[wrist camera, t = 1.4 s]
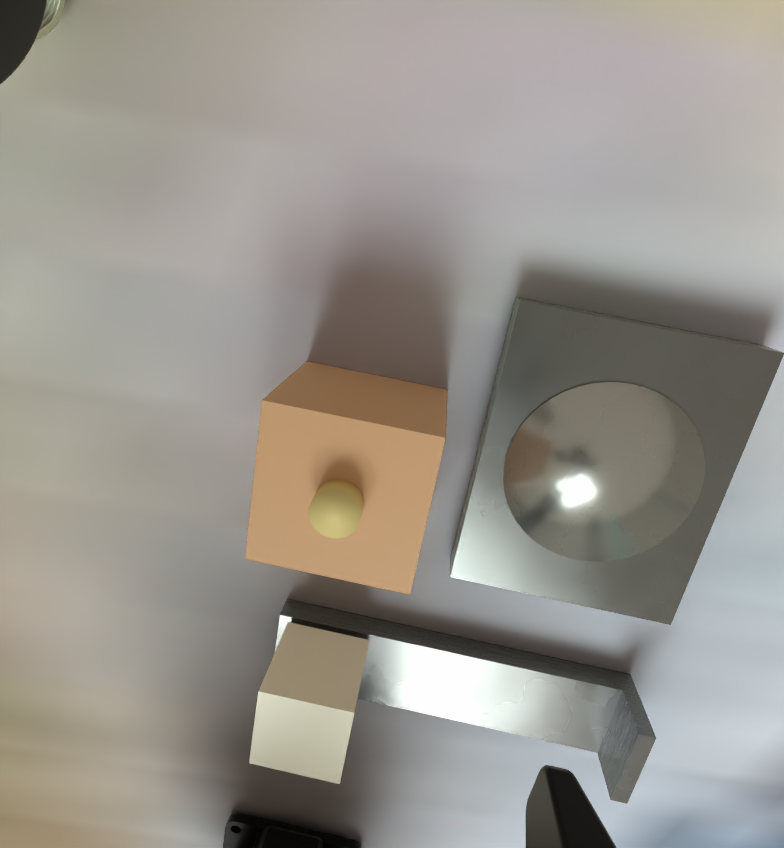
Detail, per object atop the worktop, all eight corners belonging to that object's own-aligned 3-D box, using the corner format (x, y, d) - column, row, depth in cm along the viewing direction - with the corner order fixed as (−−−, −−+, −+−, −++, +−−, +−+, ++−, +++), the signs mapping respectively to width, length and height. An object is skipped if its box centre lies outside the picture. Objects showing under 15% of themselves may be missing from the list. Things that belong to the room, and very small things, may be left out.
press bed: (658, 604, 21) (671, 626, 20) (450, 559, 22) (450, 578, 20) (763, 345, 18) (785, 353, 17) (516, 297, 18) (520, 301, 17)
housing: (419, 515, 21) (408, 611, 16) (290, 487, 22) (235, 574, 16) (447, 389, 20) (445, 448, 14) (307, 360, 20) (251, 409, 14)
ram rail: (605, 735, 24) (626, 803, 21) (278, 661, 24) (254, 718, 21) (630, 674, 22) (656, 738, 20) (286, 599, 23) (263, 650, 20)
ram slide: (356, 704, 23) (339, 784, 19) (278, 686, 23) (248, 763, 20) (369, 640, 22) (354, 713, 18) (287, 621, 22) (258, 691, 18)
